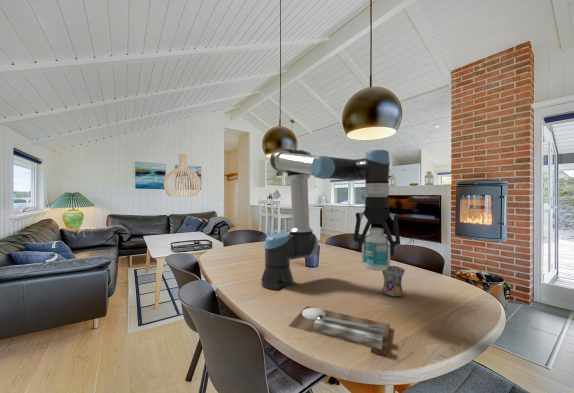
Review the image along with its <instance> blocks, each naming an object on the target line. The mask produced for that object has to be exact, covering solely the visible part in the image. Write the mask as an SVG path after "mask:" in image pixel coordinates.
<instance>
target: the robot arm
mask: <svg viewBox="0 0 574 393" xmlns="http://www.w3.org/2000/svg"><path fill="white" fill-rule="evenodd" d="M269 164H270V166H271V168H272V169H273V170H275V171H277V172H279V173H286V174H287V178H288V179H289V180H290V194H291V195H290V196H291V197H290V198H291V226H292V228H291V229H290V230H289V233H288V232H274V233H272V234H269V235H268V236H266V238H265V239H264V269H263V270H264V271H263V273H262V277H261V281H260V282H261V283H260V284H261V286H262V287H263V288H265V289H267V290H268V289H269V290H275V291H276V290H283V289H284V288H286V287H292V286H294V282H295V281H294V277H293V276H294V275H293V273H292V270H291V265H290V264H291V263H290V262H291V260H292V261H293V260H296V259H297V260H298V259H306V258H310V257H312V256H314V255H315V254H316V253H317V251H318V247H319V240H318V238H317V235H316V234H315V233H314V232H313V229H312V228H311V227H310V210H309V207H310V206H309V188H308V187H309V186H308V185H309V183H308V180H309V179H310V177H311V176H313V177H314V178H317V179H322V180H325V179H327V180H330V179H331V180H344V181H351V182H352V181H358V180H365V190H364V191H365V194H364V195H366V197H364V199H365V200H364V202H365V203H364V210H363V211H362V212H356V213H355V218H356V220H355V227H354V228H355V229H354V233H353V234H354V235H353V241H354V242H357V243H358V252H359V253H361V263H362V264H365V237H366V236H367V235H368V234H367V233H368V231H369V228H371V225H374V224H377V225H381V226H382V229H384V233H385V236H386V237H387V238H388V263H387V266H391V256H392V257H393V256H394V255H395V246H399V245H401V238H400V230H399V222H398V220H399V214H397V213H392V212H390V209H389V208H390V207H389V206H390V205H389V204H390V201H389V200H390V198H389V197H388V196H389V194H390V182H389V181H390V178H389V176H390V165H391V162H390V153H389V151H388V150H385V149H371V150H368V151H366V152H365V157H364V158H358V159H357V158H356V159H352V158H343V157H334V156H333V157H332V156H327V155H314V154H312V153H311V152H310V151H306V150H303V149H301V150H300V149H291V148H279V149H275V150H274V151H273V152H272V154H271V155H270V157H269ZM363 217H365V218H366V220H367V221H366V224H365V225H364V228H363V231H362V233H361V235H360V237H359V234H360V228H361V223H362V219H363ZM389 217H390V219H391V220H392V222H393V223H392V224H393V230H394V236H395V237H394V238H395V239H393V236H392V234H391V231H390V228H389V227H388V225H387V222H386V221H387V220H388V218H389Z"/></svg>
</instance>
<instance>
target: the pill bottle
mask: <svg viewBox="0 0 574 393" xmlns="http://www.w3.org/2000/svg"><path fill="white" fill-rule="evenodd" d="M368 231H369V234H366V236H365V238H364V243H365V262H364V267H365V268H366V269H367V270H370V271H377V272H382V271H384V270H386V269H387V268H388V266H387V263H388V245H389V241H388V238H387V236H386V234H385V235H384V233H385V231H384V228H383V227H382V228H381V227H369V229H368Z"/></svg>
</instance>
